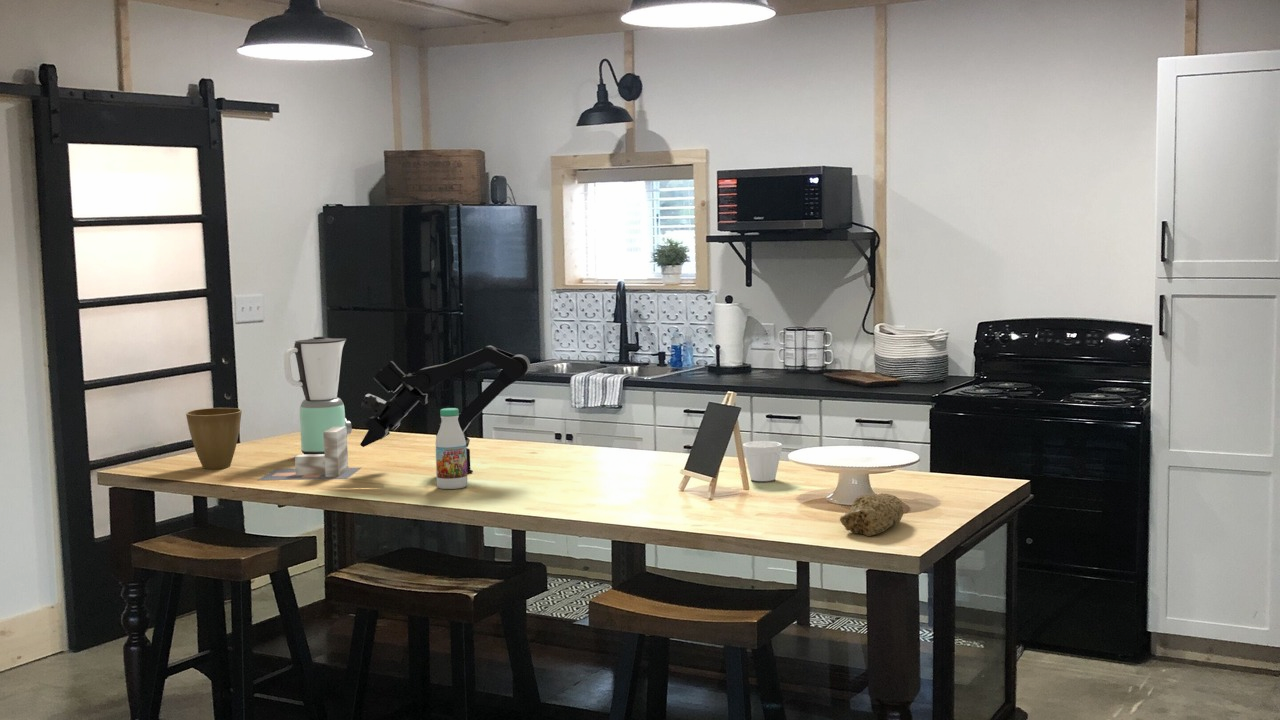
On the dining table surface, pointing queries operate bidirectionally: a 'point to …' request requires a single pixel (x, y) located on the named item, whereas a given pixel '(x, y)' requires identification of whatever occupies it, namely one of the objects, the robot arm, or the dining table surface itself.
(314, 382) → the blender
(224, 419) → the plant pot
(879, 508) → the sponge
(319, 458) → the l block
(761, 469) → the cup
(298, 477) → the mat
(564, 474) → the dining table surface
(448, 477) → the milk bottle
